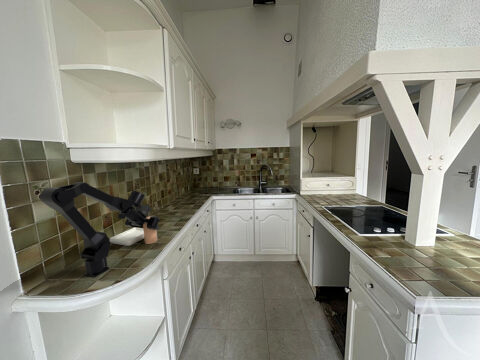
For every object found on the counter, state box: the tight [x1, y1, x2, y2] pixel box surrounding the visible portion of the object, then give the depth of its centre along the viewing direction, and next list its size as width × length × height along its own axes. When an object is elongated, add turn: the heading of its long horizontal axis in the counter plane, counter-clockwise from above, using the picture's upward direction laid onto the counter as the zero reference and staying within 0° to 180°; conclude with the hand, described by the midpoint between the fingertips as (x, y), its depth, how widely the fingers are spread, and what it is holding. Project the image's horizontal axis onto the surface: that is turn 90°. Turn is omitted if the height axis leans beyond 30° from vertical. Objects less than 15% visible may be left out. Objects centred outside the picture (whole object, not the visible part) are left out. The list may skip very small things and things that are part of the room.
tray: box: [109, 227, 144, 247], centre depth 119 cm, size 18×14×2 cm
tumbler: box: [143, 215, 158, 245], centre depth 112 cm, size 7×7×13 cm
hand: (151, 228), depth 113 cm, fingers open, 9 cm apart
